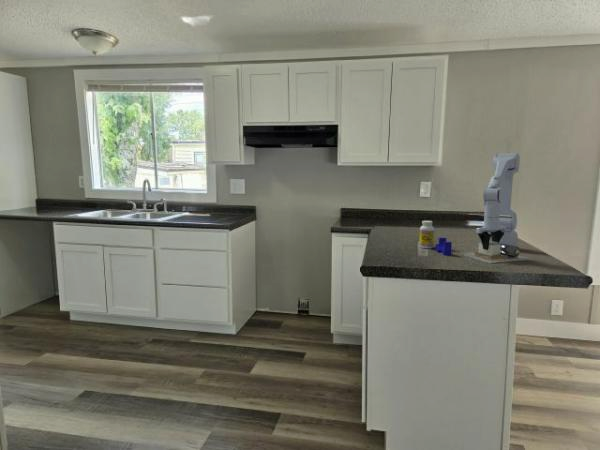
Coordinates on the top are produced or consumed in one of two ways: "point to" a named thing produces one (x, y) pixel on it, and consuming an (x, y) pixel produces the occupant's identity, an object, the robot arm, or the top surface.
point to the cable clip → (443, 247)
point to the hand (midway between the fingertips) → (490, 248)
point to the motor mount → (506, 255)
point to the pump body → (490, 248)
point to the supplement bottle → (426, 235)
